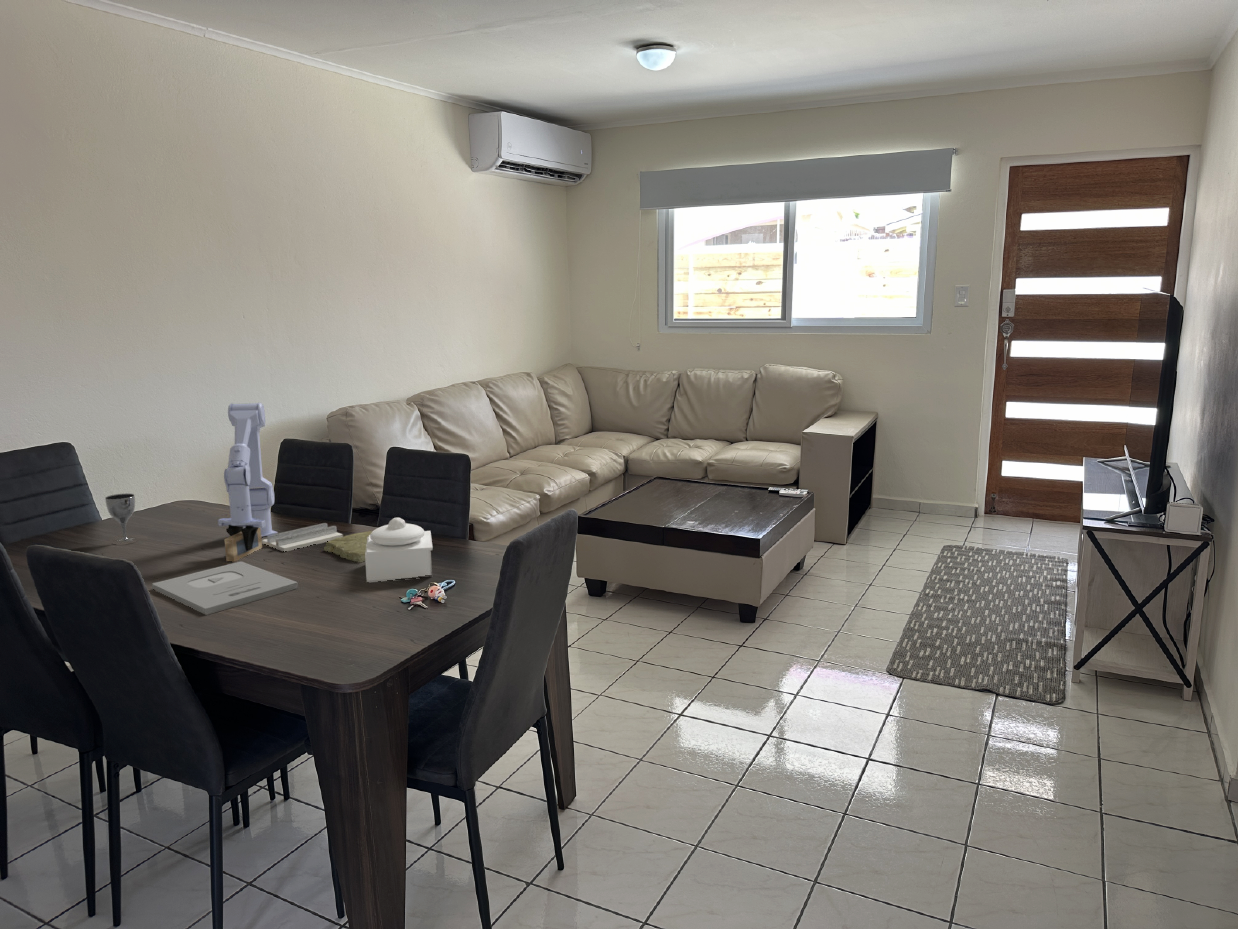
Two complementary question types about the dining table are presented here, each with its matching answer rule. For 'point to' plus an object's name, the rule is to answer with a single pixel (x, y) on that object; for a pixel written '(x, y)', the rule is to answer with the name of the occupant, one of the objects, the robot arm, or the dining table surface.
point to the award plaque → (224, 587)
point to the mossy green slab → (349, 546)
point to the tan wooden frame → (241, 546)
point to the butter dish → (398, 552)
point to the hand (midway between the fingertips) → (244, 549)
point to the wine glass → (121, 509)
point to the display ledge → (302, 537)
